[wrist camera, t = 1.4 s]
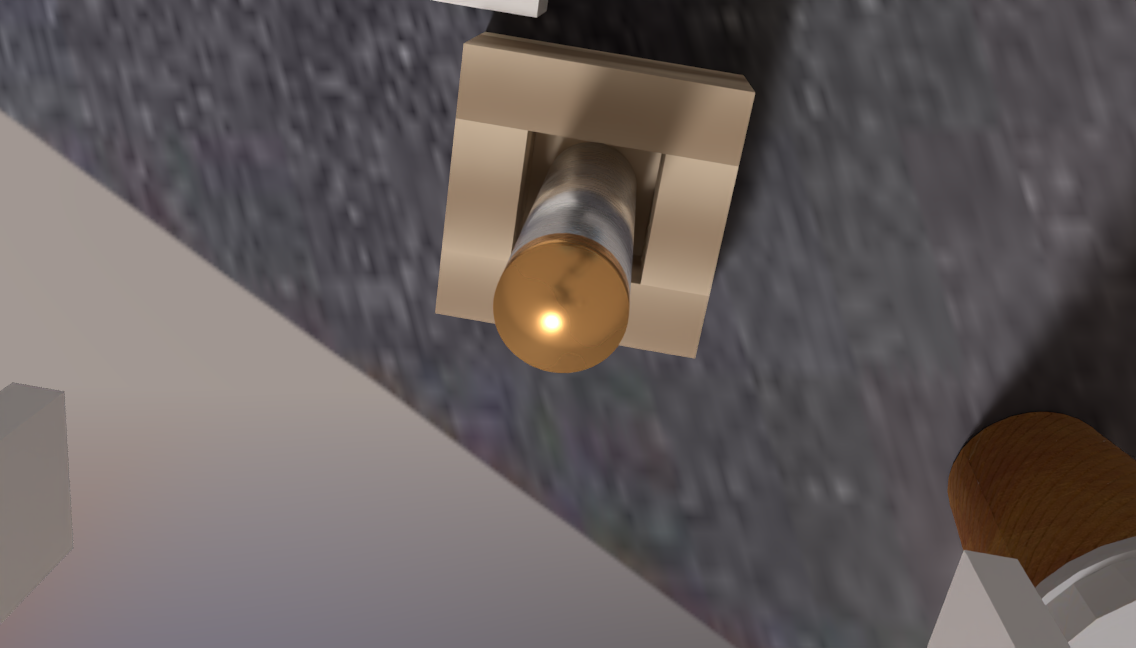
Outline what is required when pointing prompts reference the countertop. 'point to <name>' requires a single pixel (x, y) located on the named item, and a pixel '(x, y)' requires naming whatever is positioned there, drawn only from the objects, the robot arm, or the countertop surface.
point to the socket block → (605, 115)
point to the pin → (572, 264)
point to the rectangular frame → (507, 6)
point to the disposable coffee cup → (1056, 519)
